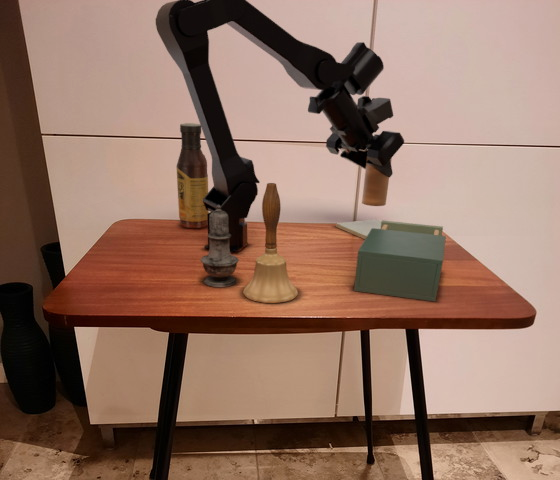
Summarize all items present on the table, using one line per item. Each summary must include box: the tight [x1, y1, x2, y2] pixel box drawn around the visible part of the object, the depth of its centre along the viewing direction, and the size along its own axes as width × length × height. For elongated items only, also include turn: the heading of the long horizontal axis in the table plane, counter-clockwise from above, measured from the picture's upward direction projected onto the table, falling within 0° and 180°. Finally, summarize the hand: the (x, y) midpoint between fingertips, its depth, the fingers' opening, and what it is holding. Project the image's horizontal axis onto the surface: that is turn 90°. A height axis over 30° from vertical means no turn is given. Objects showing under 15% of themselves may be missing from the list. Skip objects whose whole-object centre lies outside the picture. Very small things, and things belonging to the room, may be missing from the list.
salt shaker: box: [200, 204, 239, 288], centre depth 84 cm, size 6×6×12 cm
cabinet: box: [353, 228, 447, 303], centre depth 88 cm, size 14×12×6 cm
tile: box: [335, 218, 382, 240], centre depth 117 cm, size 11×11×1 cm
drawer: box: [381, 220, 444, 236], centre depth 99 cm, size 17×11×5 cm, turn 163°
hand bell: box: [242, 182, 299, 304], centre depth 79 cm, size 8×8×16 cm
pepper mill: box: [361, 133, 393, 207], centre depth 112 cm, size 5×5×13 cm
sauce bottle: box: [176, 122, 210, 229], centre depth 111 cm, size 7×6×20 cm
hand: (382, 173), depth 113 cm, fingers closed on pepper mill, 5 cm apart
